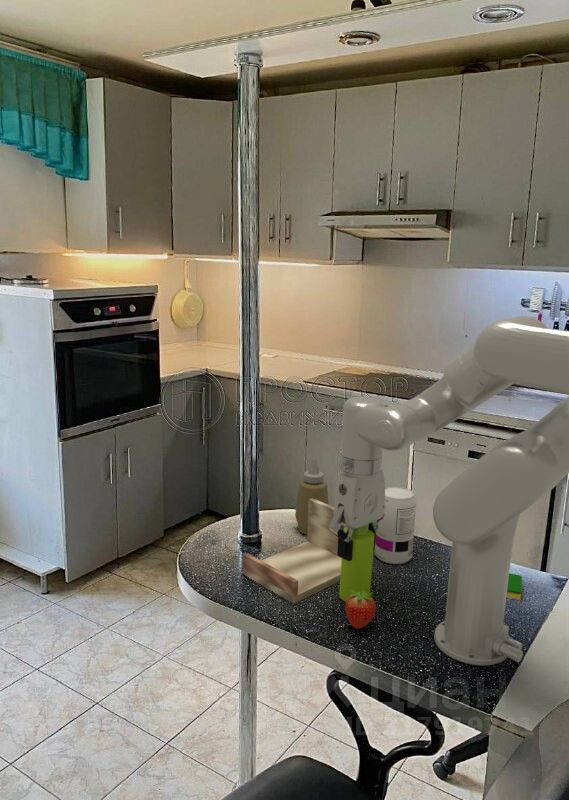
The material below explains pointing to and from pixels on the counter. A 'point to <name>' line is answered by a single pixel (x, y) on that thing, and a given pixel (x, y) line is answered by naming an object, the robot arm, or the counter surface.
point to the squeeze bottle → (310, 494)
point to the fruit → (360, 608)
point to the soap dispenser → (357, 563)
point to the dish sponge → (513, 586)
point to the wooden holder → (301, 560)
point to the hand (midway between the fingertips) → (356, 552)
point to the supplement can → (396, 526)
